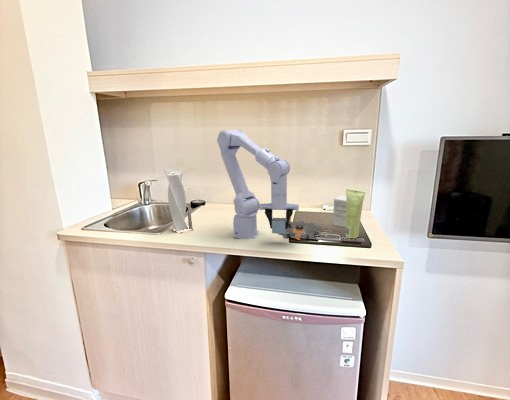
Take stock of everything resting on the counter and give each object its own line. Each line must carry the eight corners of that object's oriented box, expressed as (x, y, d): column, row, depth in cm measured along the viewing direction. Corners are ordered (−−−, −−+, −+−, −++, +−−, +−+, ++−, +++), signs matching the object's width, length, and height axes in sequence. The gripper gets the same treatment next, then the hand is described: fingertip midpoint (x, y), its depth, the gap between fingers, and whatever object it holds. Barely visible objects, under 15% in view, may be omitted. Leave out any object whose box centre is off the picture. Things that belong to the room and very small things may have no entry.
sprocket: (305, 244, 105) (305, 231, 104) (269, 233, 117) (269, 221, 116) (328, 231, 118) (329, 219, 116) (294, 222, 130) (294, 211, 128)
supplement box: (339, 221, 131) (340, 195, 128) (354, 224, 126) (356, 197, 123) (332, 225, 125) (333, 198, 122) (348, 229, 121) (350, 201, 118)
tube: (357, 235, 114) (360, 188, 109) (361, 240, 109) (365, 191, 104) (343, 235, 114) (346, 189, 109) (347, 240, 109) (349, 191, 104)
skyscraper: (176, 234, 120) (169, 170, 113) (168, 230, 126) (160, 168, 119) (193, 229, 126) (187, 168, 119) (184, 225, 132) (179, 166, 124)
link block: (272, 233, 105) (271, 220, 104) (273, 229, 109) (272, 217, 107) (285, 233, 104) (285, 221, 103) (286, 230, 108) (285, 217, 106)
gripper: (298, 191, 105) (298, 224, 109) (260, 190, 108) (261, 223, 111) (298, 195, 99) (298, 231, 102) (258, 195, 101) (259, 230, 104)
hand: (279, 227), depth 106 cm, fingers closed on link block, 5 cm apart
